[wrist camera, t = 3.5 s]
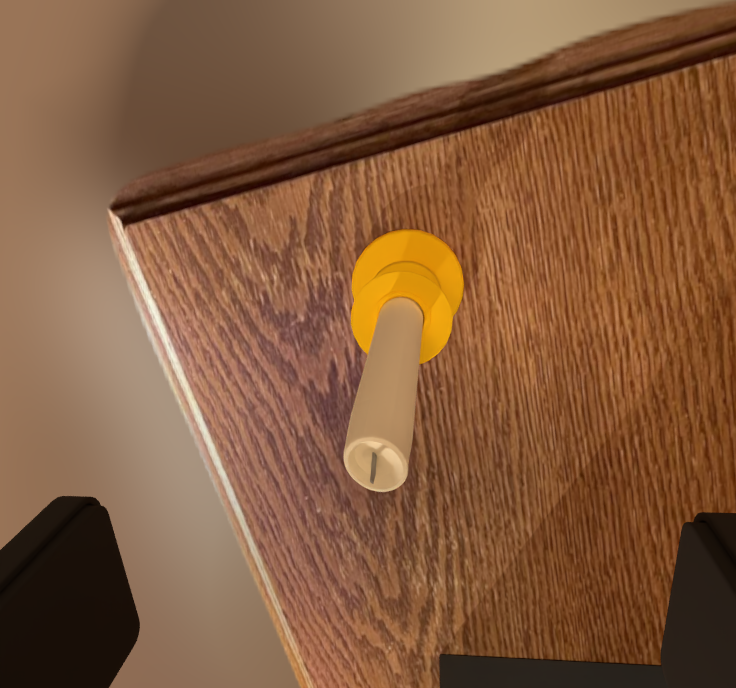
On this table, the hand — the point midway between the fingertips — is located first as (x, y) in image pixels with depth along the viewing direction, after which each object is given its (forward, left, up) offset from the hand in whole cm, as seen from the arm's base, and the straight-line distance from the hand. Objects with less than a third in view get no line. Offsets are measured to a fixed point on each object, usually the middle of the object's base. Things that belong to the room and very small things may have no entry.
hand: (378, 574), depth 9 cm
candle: (0, 0, -18) cm, 18 cm away
